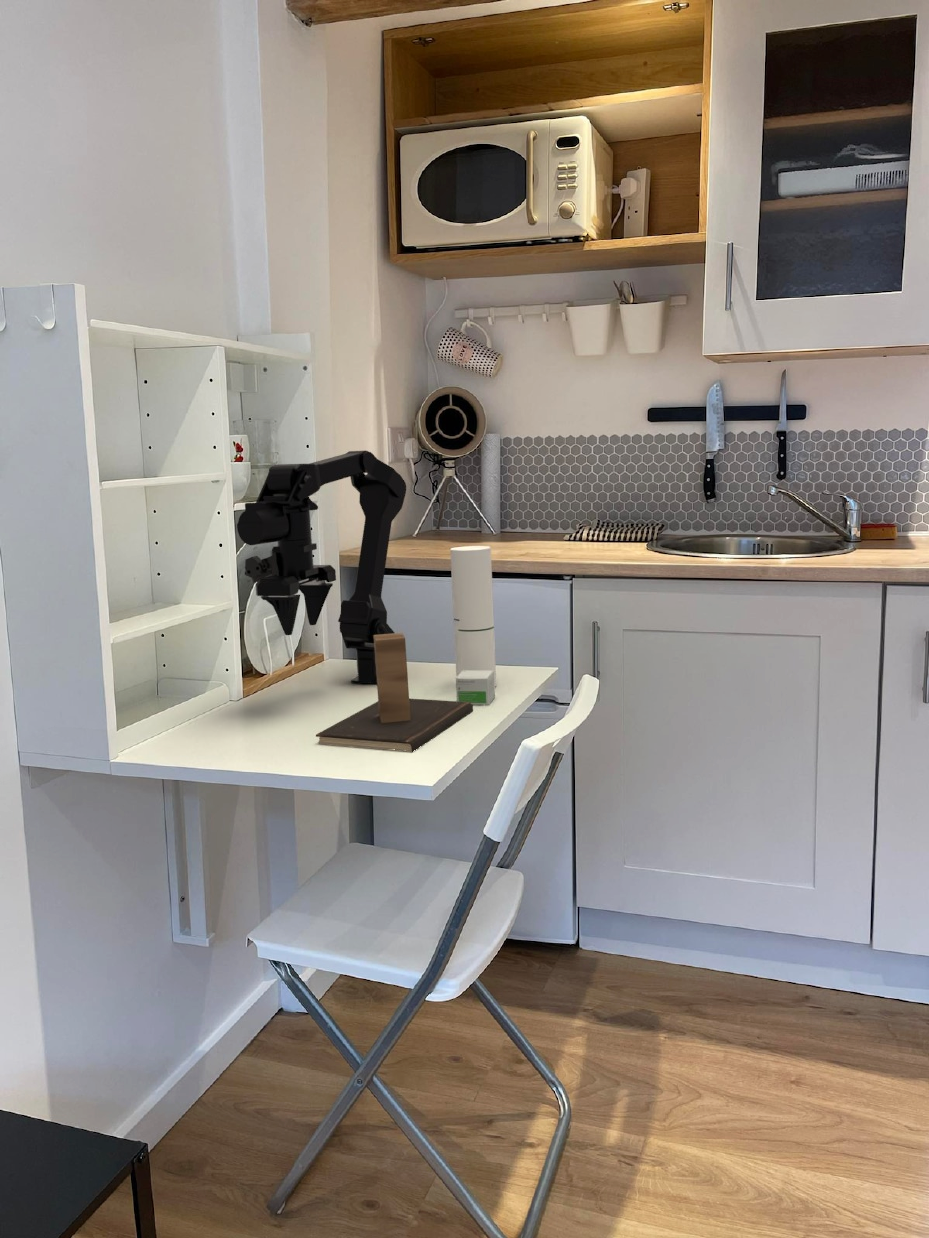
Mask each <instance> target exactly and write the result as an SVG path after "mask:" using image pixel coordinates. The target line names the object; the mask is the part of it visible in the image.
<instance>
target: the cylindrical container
mask: <svg viewBox="0 0 929 1238" xmlns="http://www.w3.org/2000/svg"><path fill="white" fill-rule="evenodd" d="M491 548H492V547H491V546H488V545H470V546H469V545H468V546H467V545H466V546H456V547H451V548H450V550H449V551H450V571H451V591H452V592H451V593H452V616H453V634H454V635H453V637H454V652H455V653H454V655H455V657H454V658H455V676H456V677H457V676H458V675H459V674H460V673H461V672H462V671H463V670H483V671H484V670H488V671H494V686H496V687H497V673H496V672H497V671H496V649H495V647H496V646H495V645H496V644H495V641H496V640H495V627H494V626H495V621H494V620H495V619H494V597H493V595H494V593H493V572H492V571H493V570H492V569H493V568H492V567H493V566H492V549H491Z"/></svg>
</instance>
